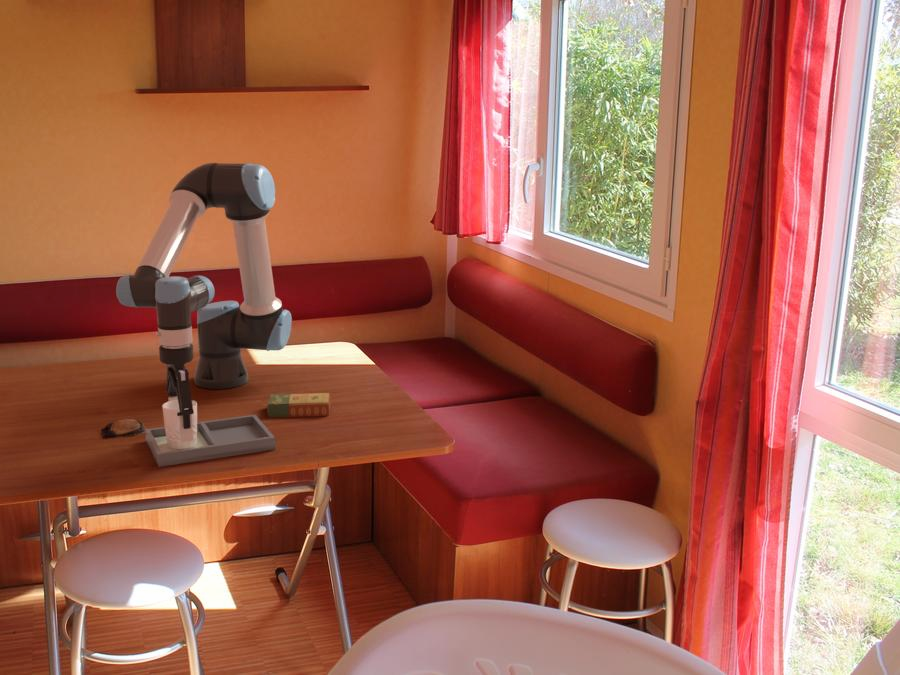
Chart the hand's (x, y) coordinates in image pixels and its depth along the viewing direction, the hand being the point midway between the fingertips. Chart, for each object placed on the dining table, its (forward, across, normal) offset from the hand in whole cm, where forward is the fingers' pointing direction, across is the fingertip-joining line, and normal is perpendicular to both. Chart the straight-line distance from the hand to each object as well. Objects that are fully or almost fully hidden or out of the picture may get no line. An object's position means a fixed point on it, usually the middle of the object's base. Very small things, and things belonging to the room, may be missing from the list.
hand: (181, 431), depth 233 cm
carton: (+5, -16, +33) cm, 37 cm away
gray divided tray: (+4, 0, +6) cm, 8 cm away
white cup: (+4, 0, 0) cm, 4 cm away
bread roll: (+5, -18, -11) cm, 22 cm away
